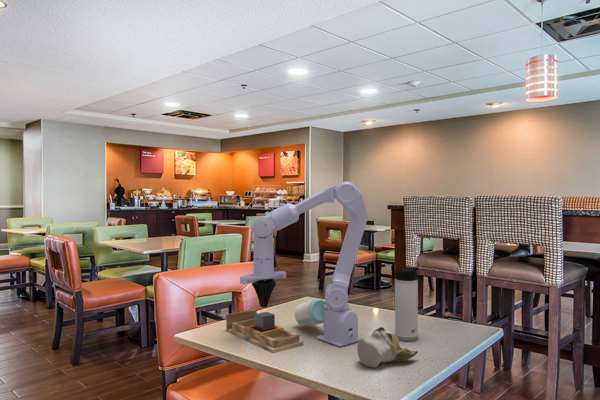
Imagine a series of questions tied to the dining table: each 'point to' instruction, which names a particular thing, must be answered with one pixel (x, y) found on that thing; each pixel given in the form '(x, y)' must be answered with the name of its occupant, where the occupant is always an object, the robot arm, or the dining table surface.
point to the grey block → (264, 321)
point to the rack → (269, 340)
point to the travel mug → (406, 304)
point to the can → (310, 312)
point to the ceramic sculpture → (382, 349)
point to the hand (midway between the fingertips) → (263, 306)
